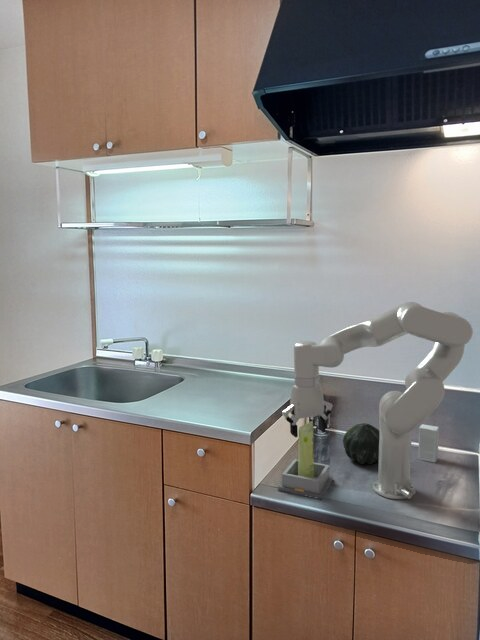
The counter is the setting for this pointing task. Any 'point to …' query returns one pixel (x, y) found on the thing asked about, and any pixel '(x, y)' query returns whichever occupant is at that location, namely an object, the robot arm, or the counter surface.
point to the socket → (306, 480)
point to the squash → (362, 443)
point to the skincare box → (428, 443)
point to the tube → (306, 451)
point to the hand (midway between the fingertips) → (308, 433)
